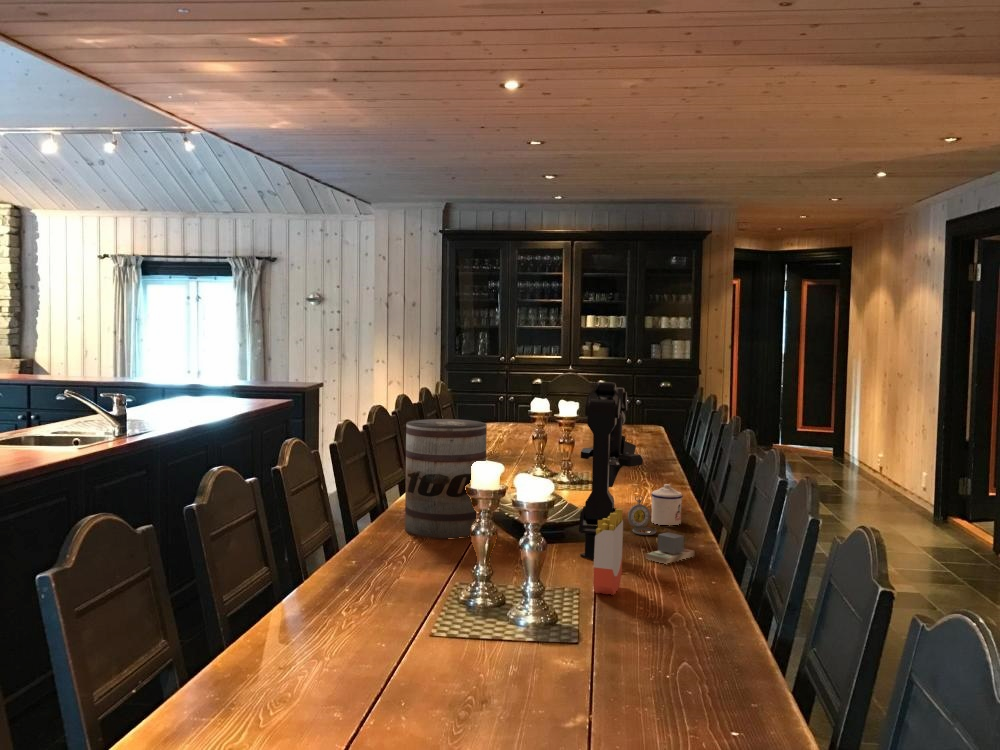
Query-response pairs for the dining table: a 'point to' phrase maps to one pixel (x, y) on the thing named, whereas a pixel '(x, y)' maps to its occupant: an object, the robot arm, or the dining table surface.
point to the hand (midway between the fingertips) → (610, 487)
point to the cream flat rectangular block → (669, 556)
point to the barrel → (441, 476)
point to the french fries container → (608, 554)
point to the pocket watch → (637, 514)
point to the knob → (670, 543)
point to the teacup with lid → (666, 506)
